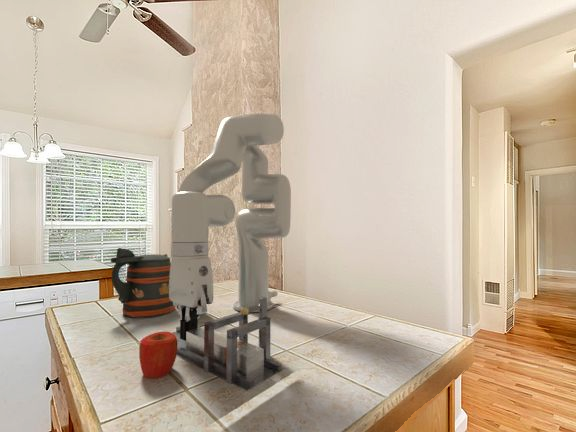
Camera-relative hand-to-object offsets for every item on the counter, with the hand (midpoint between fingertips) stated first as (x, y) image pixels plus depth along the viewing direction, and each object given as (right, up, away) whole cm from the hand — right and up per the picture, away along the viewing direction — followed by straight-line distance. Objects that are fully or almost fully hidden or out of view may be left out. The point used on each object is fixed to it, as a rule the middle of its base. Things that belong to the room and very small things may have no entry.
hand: (188, 337), depth 64 cm
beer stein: (-22, -4, +27) cm, 35 cm away
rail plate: (+5, -3, -4) cm, 6 cm away
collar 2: (+14, -2, -11) cm, 18 cm away
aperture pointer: (+14, -3, -6) cm, 16 cm away
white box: (+9, -2, -7) cm, 11 cm away
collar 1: (+10, -3, -7) cm, 12 cm away
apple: (-2, -3, -11) cm, 12 cm away
